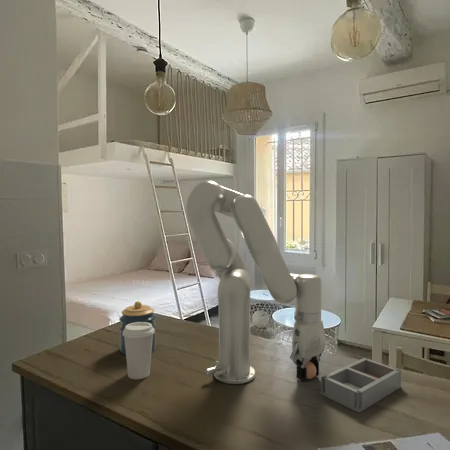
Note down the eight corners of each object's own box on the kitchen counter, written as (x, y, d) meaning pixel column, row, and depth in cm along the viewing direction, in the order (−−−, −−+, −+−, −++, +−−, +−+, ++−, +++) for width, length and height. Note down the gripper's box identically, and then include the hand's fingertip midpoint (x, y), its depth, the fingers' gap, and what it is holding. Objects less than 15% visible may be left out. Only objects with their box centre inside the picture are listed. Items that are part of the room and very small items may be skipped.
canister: (163, 347, 129) (163, 300, 128) (137, 359, 118) (137, 307, 117) (138, 340, 136) (138, 295, 135) (111, 351, 125) (111, 302, 124)
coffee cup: (161, 371, 109) (160, 323, 109) (141, 384, 100) (141, 332, 100) (136, 365, 113) (136, 319, 113) (115, 378, 104) (115, 328, 104)
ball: (309, 383, 101) (309, 366, 101) (295, 377, 105) (295, 361, 105) (319, 379, 104) (319, 362, 104) (306, 373, 108) (306, 357, 108)
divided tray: (358, 412, 86) (359, 393, 86) (321, 394, 95) (321, 376, 95) (400, 387, 99) (401, 370, 99) (364, 373, 108) (364, 357, 108)
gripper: (298, 324, 96) (298, 390, 96) (336, 314, 106) (335, 373, 106) (278, 318, 102) (278, 380, 102) (315, 309, 112) (315, 365, 112)
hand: (307, 376), depth 104 cm, fingers closed on ball, 4 cm apart
